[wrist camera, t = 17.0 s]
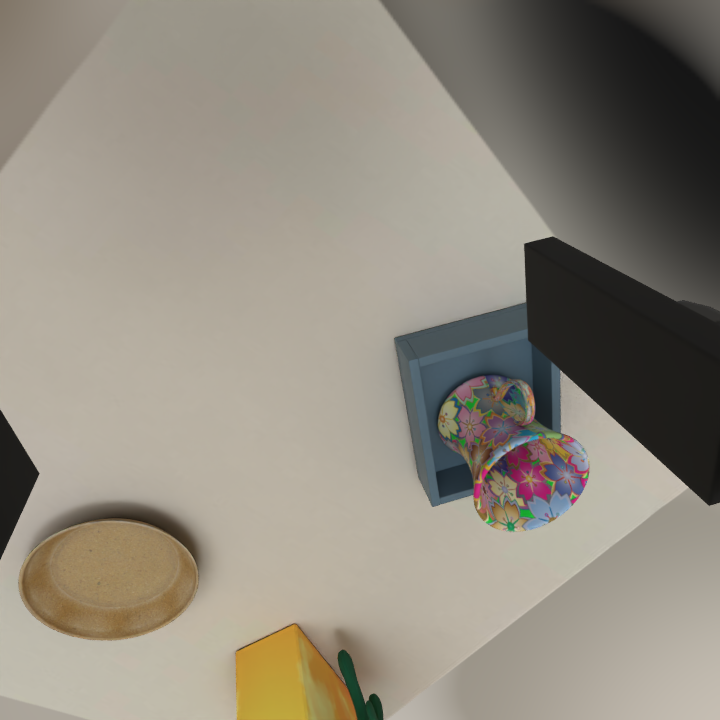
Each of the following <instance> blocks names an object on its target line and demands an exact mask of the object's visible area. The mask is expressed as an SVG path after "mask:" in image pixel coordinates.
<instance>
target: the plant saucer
mask: <svg viewBox="0 0 720 720" xmlns="http://www.w3.org/2000/svg"><path fill="white" fill-rule="evenodd" d="M198 581H199V575H198V568H197V565H196V563H195V560H194V558H193V557H192V555H191V553H190V552H189V551H188V550H187V549H186V547H185V546H184V545H182V544H181V543H180V542H179V541H178V540H177V539H176V538H174V537H173V536H172V535H170V534H169V533H167V532H165V531H164V530H162V529H160V528H158V527H156V526H153V525H151V524H148V523H144V522H141V521H136V520H131V519H120V518H110V519H98V520H93V521H88V522H84V523H80V524H77V525H74V526H71V527H68V528H66V529H64V530H62V531H60V532H57V533H55V534H54V535H52V536H50V537H49V538H47V539H45V540H44V541H43V542H41V543H40V544H39V545H38V546H37V547H35V548H34V549H33V550H32V551H31V553H30V554H29V555H28V557H27V558H26V560H25V561H24V563H23V565H22V568H21V570H20V574H19V592H20V596H21V599H22V601H23V603H24V605H25V606H26V608H27V609H28V610H29V612H30V613H31V614H32V615H33V616H34V617H35V618H36V619H38V620H39V621H40V622H42V623H43V624H44V625H46V626H48V627H49V628H51V629H53V630H56V631H58V632H60V633H63V634H66V635H69V636H72V637H78V638H83V639H89V640H121V639H128V638H133V637H138V636H141V635H144V634H147V633H150V632H153V631H155V630H158V629H160V628H162V627H164V626H166V625H167V624H169V623H170V622H172V621H173V620H175V619H176V618H177V617H178V616H180V615H181V614H182V613H183V612H184V611H185V610H186V609H187V608H188V606H189V605H190V603H191V602H192V600H193V598H194V597H195V594H196V591H197V588H198Z"/></svg>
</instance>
